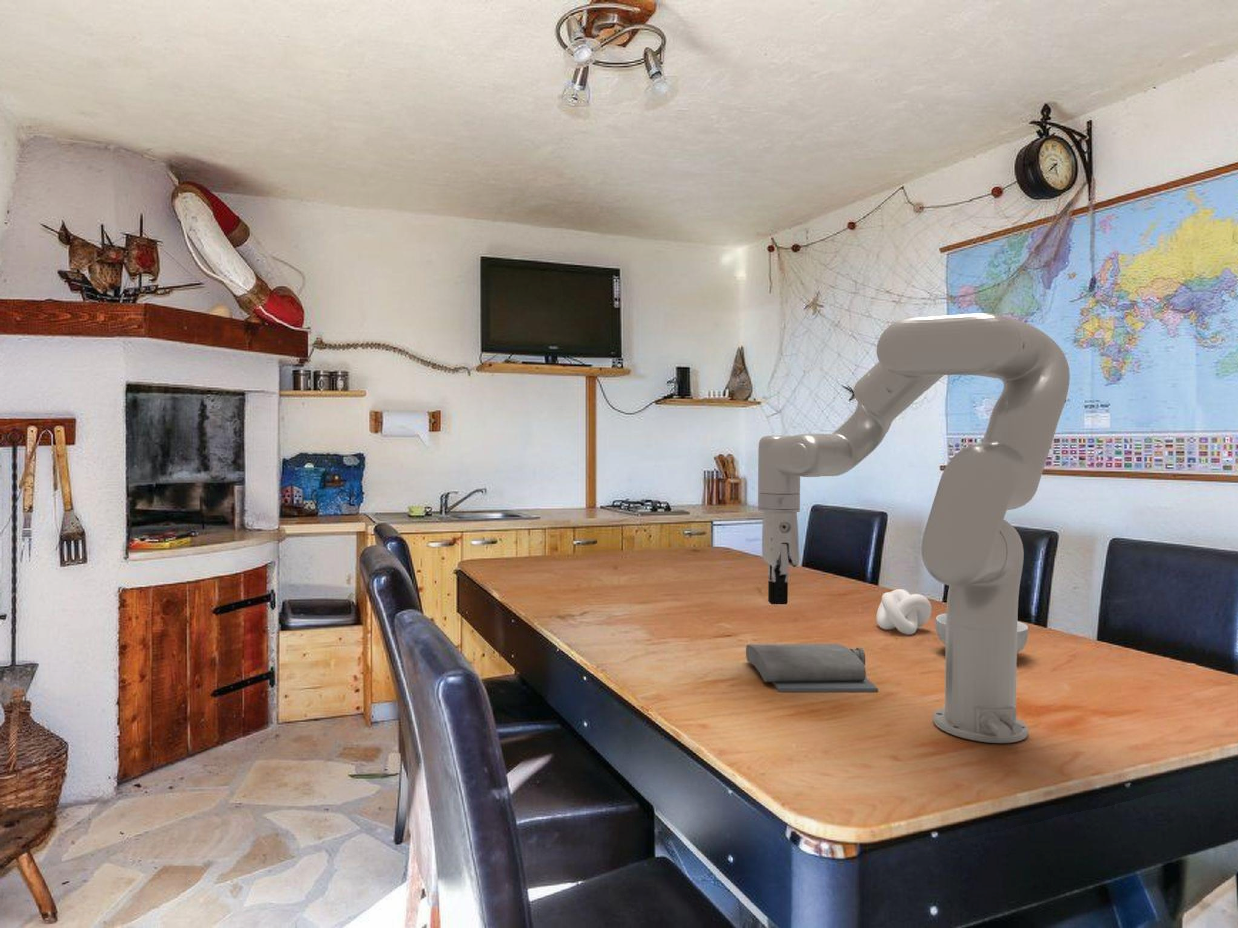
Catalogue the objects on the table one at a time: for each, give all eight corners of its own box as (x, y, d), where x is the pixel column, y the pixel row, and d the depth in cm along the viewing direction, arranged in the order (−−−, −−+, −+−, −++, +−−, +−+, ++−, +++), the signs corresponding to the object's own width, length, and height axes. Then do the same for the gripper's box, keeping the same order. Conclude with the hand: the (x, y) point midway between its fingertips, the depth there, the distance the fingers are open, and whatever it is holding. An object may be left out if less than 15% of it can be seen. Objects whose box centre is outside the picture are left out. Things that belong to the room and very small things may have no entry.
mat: (878, 691, 130) (878, 688, 130) (778, 691, 129) (778, 688, 129) (841, 659, 150) (841, 656, 150) (755, 659, 149) (755, 656, 149)
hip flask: (766, 684, 131) (879, 682, 133) (766, 660, 131) (880, 659, 133) (745, 659, 147) (846, 657, 149) (746, 638, 147) (847, 637, 148)
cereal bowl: (974, 670, 143) (975, 633, 143) (917, 648, 159) (917, 614, 159) (1048, 664, 147) (1048, 627, 147) (985, 643, 163) (985, 610, 163)
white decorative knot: (922, 625, 179) (923, 587, 179) (938, 638, 167) (939, 597, 167) (873, 624, 180) (873, 586, 180) (885, 636, 169) (886, 596, 168)
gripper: (810, 506, 131) (809, 612, 132) (789, 500, 146) (788, 595, 147) (767, 506, 131) (766, 612, 132) (750, 500, 146) (749, 595, 146)
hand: (777, 603), depth 139 cm, fingers closed
